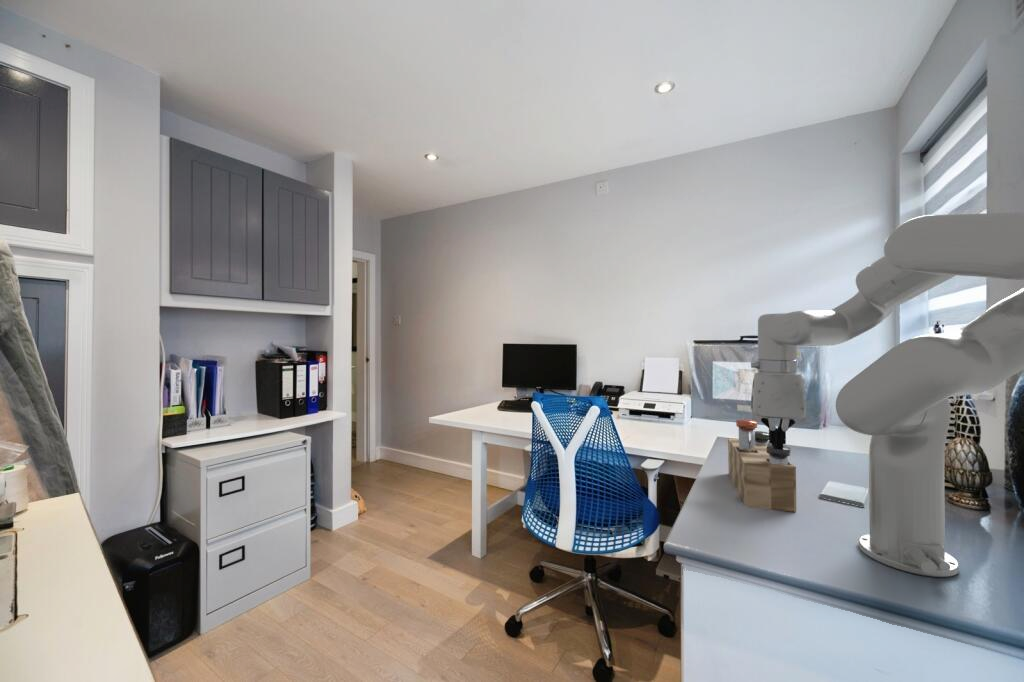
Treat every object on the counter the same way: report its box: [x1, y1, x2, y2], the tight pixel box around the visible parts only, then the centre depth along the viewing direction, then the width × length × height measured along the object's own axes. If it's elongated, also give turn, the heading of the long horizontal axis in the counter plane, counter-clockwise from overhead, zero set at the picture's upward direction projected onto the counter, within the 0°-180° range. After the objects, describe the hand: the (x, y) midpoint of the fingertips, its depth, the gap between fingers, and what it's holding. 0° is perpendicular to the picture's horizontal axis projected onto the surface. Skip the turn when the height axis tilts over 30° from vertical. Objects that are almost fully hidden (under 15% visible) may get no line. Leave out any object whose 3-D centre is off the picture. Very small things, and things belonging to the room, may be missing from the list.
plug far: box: [755, 430, 769, 445], centre depth 112 cm, size 5×5×12 cm
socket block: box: [727, 438, 797, 513], centre depth 104 cm, size 24×10×10 cm, turn 160°
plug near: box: [767, 445, 791, 465], centre depth 95 cm, size 5×5×12 cm
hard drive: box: [818, 480, 869, 508], centre depth 100 cm, size 2×8×12 cm
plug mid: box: [735, 418, 758, 453], centre depth 105 cm, size 5×5×12 cm
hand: (777, 446), depth 95 cm, fingers closed
